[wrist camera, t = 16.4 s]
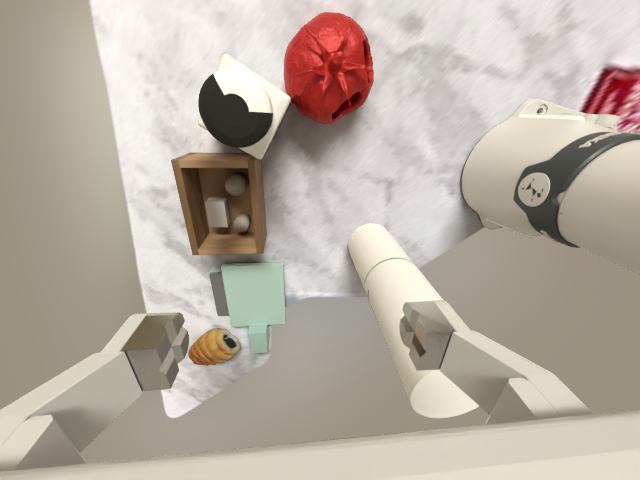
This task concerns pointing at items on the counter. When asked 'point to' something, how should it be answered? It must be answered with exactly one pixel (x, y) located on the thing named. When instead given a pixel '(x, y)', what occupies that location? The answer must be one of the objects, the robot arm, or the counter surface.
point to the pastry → (214, 347)
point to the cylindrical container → (387, 303)
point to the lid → (255, 299)
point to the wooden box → (222, 202)
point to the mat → (219, 293)
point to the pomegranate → (328, 67)
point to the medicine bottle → (241, 107)
